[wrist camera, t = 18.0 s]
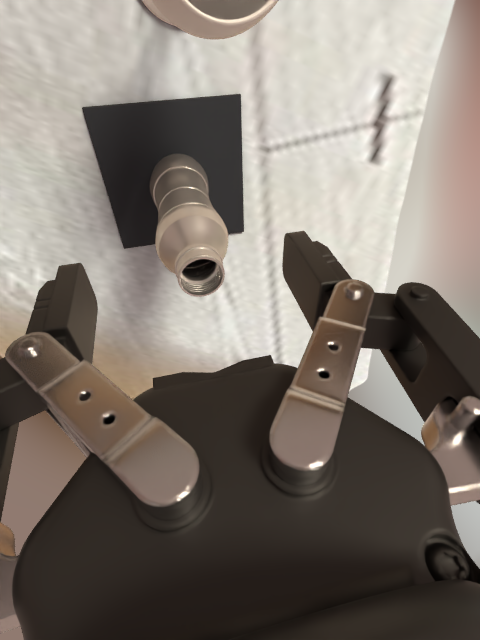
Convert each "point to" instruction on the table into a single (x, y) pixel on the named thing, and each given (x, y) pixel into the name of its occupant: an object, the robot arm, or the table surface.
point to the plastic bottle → (188, 225)
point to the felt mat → (160, 141)
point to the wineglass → (211, 15)
